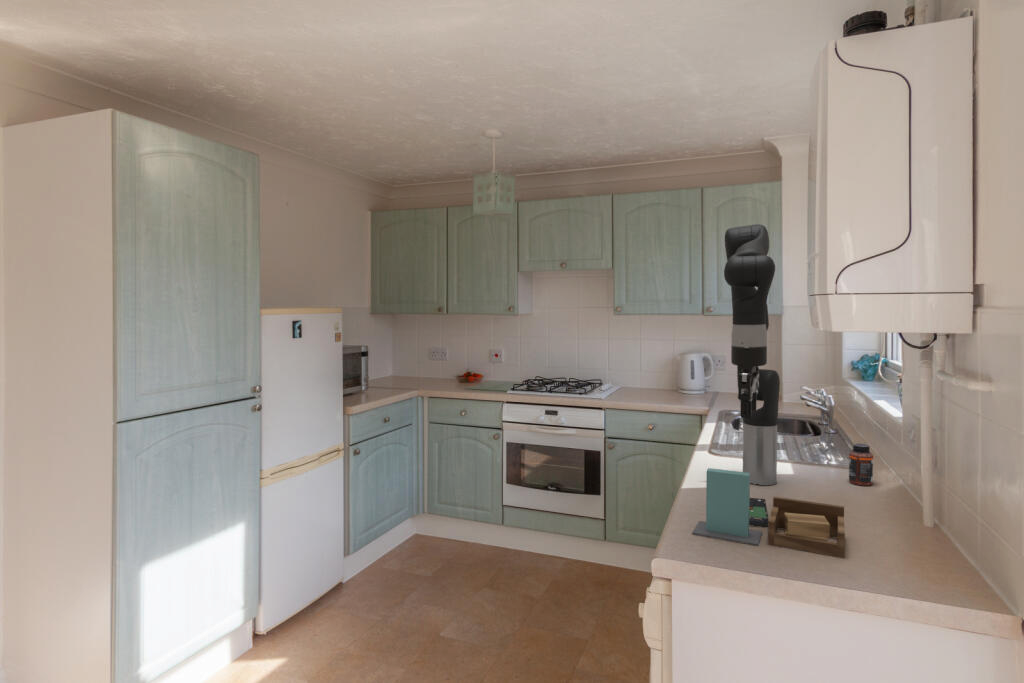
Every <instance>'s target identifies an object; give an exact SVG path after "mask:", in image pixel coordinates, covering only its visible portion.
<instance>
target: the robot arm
mask: <svg viewBox="0 0 1024 683" xmlns="http://www.w3.org/2000/svg"><path fill="white" fill-rule="evenodd" d="M724 247H725V254H726V262H725V266H724V268H723V276H724V280H725V282H726V284H727V285H728V286H730V291H731V304H732V306H731V307H732V328H731V337H730V338H731V343H730V344H731V348H730V349H731V351H730V352H731V353H730V354H731V356H730V358H731V359H730V360H731V364H732V365H733V366H737V368H736V369H737V370H736V371H737V372H736V374H737V375H736V376H737V378H736V379H737V389H738V390H737V391H738V395H737V399H738V400H739V402H740V417H741V419H742V424H743V427H742V430H743V432H742V472H746V473H750V484H751V483H753V484H752V485H756V484H759V485H758V486H772V485H773V486H774V485H775V483H776V484H777V474H778V473H777V468H778V466H777V465H778V464H777V462H778V459H777V458H778V418H779V401H780V400H779V398H780V385H781V380H780V375H779V373H778V371H776V370H773V369H761V368H759V367H762V366H765V365H767V364H768V357H767V356H768V344H767V343H768V329H769V325H770V323H769V309H768V307H769V306H768V303H767V302H768V297H769V292H770V289H771V286H772V282H773V280H774V277H775V273H776V264H775V262H774V259H773V258H772V257H770V256H769V255H768V253H769V251H770V250H769V249H770V237H769V232H768V229H767V227H766V226H765V225H763V224H756V223H755V224H749V225H745V226H744V225H743V226H742V225H741V226H735V227H730V228H728V229H726V231H725V233H724ZM757 401H760V402H763V404H762V407H760V408H758V409H757Z"/></svg>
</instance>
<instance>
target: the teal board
mask: <svg viewBox="0 0 1024 683" xmlns="http://www.w3.org/2000/svg"><path fill="white" fill-rule="evenodd" d="M750 484H751V483H750V473H746V472H743V471H735V470H727V469H722V468H721V469H720V468H719V469H718V468H713V467H711V468H710V467H708V468H707V470H706V484H705V485H706V492H705V494H706V496H705V497H706V502H705V505H706V508H705V509H706V511H705V512H706V513H705V516H706V517H705V522H706V530H708V531H714V532H720V533H725V534H731V535H737V536H743V537H748V536H749V529H750V526H749V511H750V498H751V496H750V494H751V485H750Z"/></svg>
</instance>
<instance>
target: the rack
mask: <svg viewBox="0 0 1024 683" xmlns="http://www.w3.org/2000/svg"><path fill="white" fill-rule="evenodd" d="M772 501H773V502H772V509H771V511H770V515H769V517H768V528H767V533H768V534H767V535H768V536H767V544H768V545H769V546H770V545H771V546H775V547H781V548H787V549H793V550H799V551H804V552H810V553H816V554H821V555H826V556H833V557H838V558H845V543H846V542H845V540H846V539H845V537H846V533H845V532H846V530H845V506H844V505H837V504H830V503H822V502H815V501H807V500H801V499H794V498H789V497H788V498H786V497H779V496H773V497H772ZM784 513H795V514H807V515H819V516H825V518H826V519H827V521H828V522H829V524H830V536H829V538H831V537H832V538H836V539H837V540H836V542H833V541H828V540H827V541H822V540H816V539H810V538H804V537H798V536H792V535H786V534H785V533H779V529H780V528H783V529H782V530H785V529H786V528H785V526H784ZM777 531H778V532H777Z"/></svg>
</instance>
